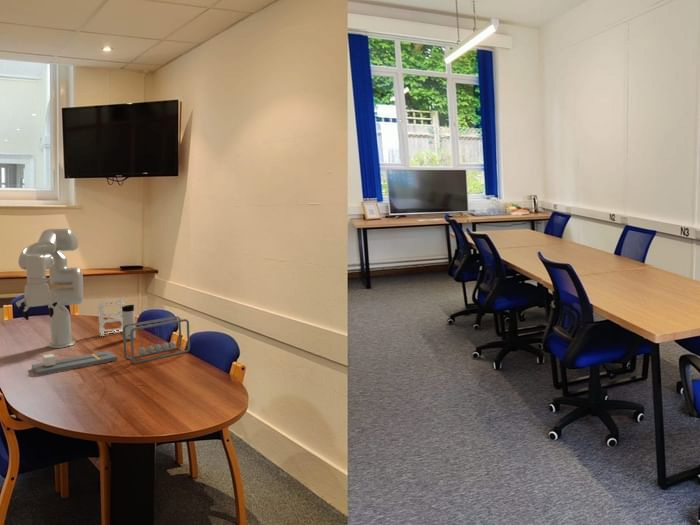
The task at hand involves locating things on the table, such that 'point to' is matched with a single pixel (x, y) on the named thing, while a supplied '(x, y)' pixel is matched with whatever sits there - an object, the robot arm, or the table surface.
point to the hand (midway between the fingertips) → (39, 318)
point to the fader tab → (49, 360)
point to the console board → (74, 362)
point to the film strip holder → (102, 321)
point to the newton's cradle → (157, 346)
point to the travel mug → (128, 320)
